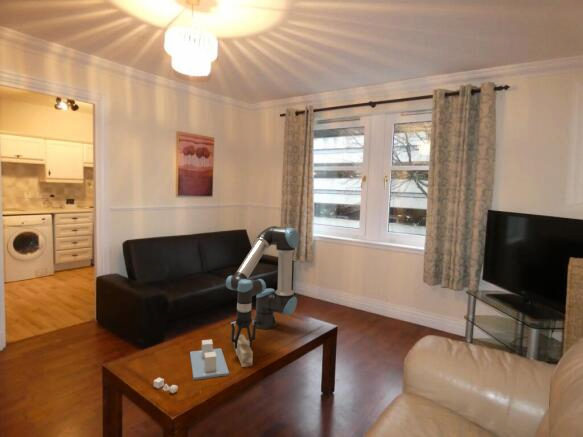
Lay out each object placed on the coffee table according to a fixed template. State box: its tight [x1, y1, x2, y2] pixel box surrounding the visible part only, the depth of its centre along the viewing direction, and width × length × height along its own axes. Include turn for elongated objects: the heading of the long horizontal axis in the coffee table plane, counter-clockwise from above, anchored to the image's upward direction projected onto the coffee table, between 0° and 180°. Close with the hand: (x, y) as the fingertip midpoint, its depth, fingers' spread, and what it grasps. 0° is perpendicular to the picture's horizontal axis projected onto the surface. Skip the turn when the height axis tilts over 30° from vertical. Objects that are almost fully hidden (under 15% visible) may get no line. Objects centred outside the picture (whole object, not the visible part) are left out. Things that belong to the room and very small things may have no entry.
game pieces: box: [153, 376, 179, 395], centre depth 148 cm, size 12×3×3 cm, turn 62°
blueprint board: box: [189, 339, 230, 381], centre depth 171 cm, size 16×26×8 cm, turn 20°
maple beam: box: [233, 333, 254, 368], centre depth 180 cm, size 5×22×7 cm, turn 20°
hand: (242, 353), depth 181 cm, fingers closed on maple beam, 5 cm apart
